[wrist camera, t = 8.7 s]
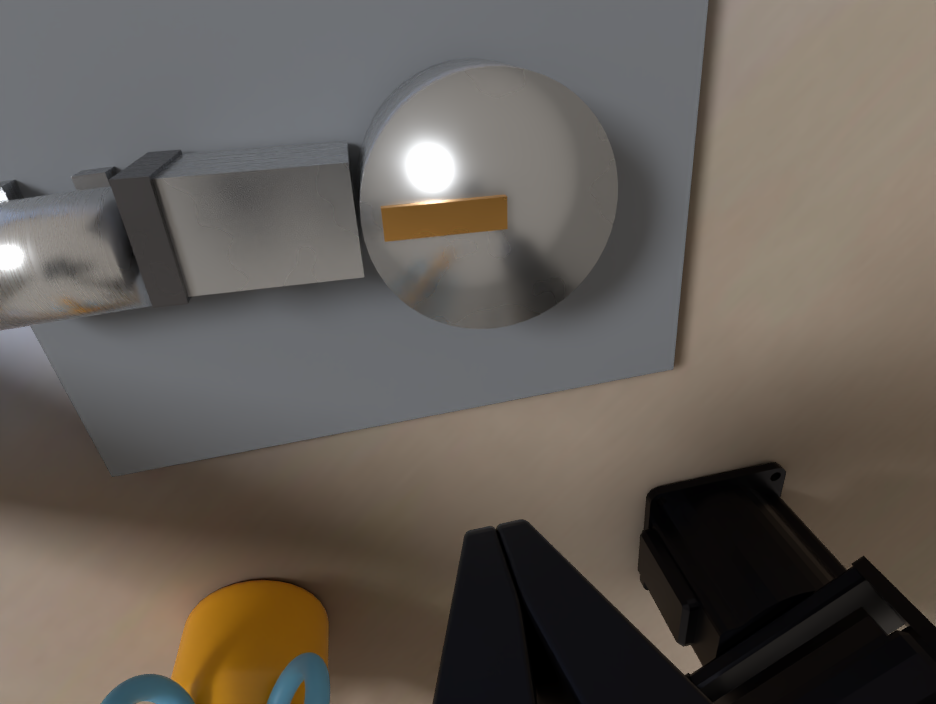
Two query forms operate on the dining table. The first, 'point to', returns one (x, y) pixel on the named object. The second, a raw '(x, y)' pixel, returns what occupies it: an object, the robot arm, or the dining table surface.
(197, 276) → the dial knob with block
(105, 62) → the mat
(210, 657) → the cylinder
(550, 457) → the dining table surface
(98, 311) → the duct stub
